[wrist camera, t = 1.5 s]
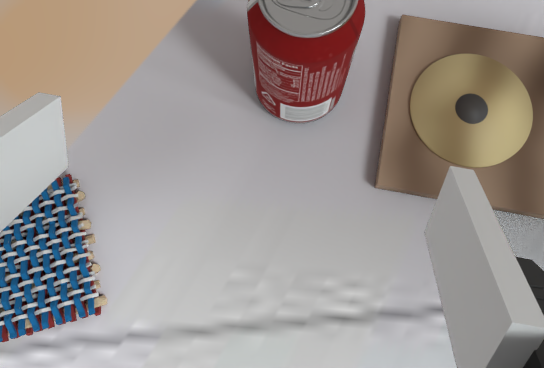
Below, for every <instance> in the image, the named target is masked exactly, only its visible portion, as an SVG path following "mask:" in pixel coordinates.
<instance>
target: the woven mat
mask: <svg viewBox="0 0 544 368" xmlns="http://www.w3.org/2000/svg"><path fill="white" fill-rule="evenodd" d="M65 176H66V177H65V178H63V183H62V182H61V178H60V177H59V178H56V179H55V181H53V182H52V183H51V184H50V185H49V186H48V187H47V188H46V189H45V190H44V191H43V192H42V193H41V194H40V195H39V196H38V197H37V198H36V199H35V200H33V201H32V202H31V203H30V204H29V205H28V206H27V207H26V208H25V209H24V210H23V211H22V212H21V213H20V214H19V215H18V216H17V217H16V218H15V219H14V220H13V221H12V222H11V223H10V224H9V225H7V226H6V227H5V228H4V229H3V230H2V231H1V232H0V318H1V319H0V342H6V341H9V339H8V335H9V334H10V338H11V339H13V338H14V339H15V338H18V337H20V336H22V335H25V334H26V335H28V336H29V335H32V334H33V331H34V332H39V331H42V330H43V329H45V328H48V329H49V328H52V327H55V325H54V321H56V324H57V325H61V324H65V323H66V322H69V321H70V322H73V321H77V319H76V314H79V317H80V318H85V317H88V312H87V311H89V315H92V314H95V315H96V316H97V315H100V314H101V306H102V305H106V304H107V298H106V297H105V295H103V296H100V297H99V293H98V292H96V289H97V288H99V287H100V283H99V280H97V281H93V280H95V276H92V275H95V274H96V273H98V272H99V271H100V266H99V265H97V264H93V265H92V264H91V262H89V260H92V259H93V258H94V256H93V251H87V248H86V247H88V246H89V245H88V244H92V243H95V237H94V234H93V235H89V236H86V237H85V235H86V232H85V229H90V227H91V222H90V220H83V219H82V218H83V216H82V215H85V212H84V208H82V209H78V203H77V202H80V201H82V200H83V199H84V198H85V195H84V192H81V191H78V192H77V193H75V189H77V187H80V186H79V181H78V179H77V180H73V181H72V177H71V175H70V174H68V175H65ZM64 193H66V196H64ZM43 200H44V202H43ZM67 210H69V212H67ZM57 212H58V215H57V214H56V213H57ZM35 218H36V220H35ZM70 221H71V225H70V223H69V222H70ZM59 226H60V227H61V229H59ZM38 234H39V235H38ZM74 237H75V240H73V238H74ZM50 240H51V241H50ZM62 242H63V243H62ZM51 244H53V245H52V246H51ZM65 253H67V256H66V257H65V255H64V254H65ZM54 258H55V261H54ZM32 266H33V268H32ZM67 267H69V268H68V269H67ZM68 272H70V273H68ZM45 273H46V275H45ZM81 278H84V279H81ZM46 279H47V280H46ZM22 280H23V282H22ZM83 282H84V284H82V283H83ZM24 285H25V286H24ZM59 285H61V286H60V287H59ZM60 290H61V291H60ZM31 293H33V294H32V295H31ZM84 293H86V296H84ZM15 298H16V300H15ZM86 299H88V301H86V302H85V300H86ZM61 300H62V301H63V303H62V301H61ZM63 306H64V308H63ZM40 313H42V315H41V314H40ZM18 320H19V321H18ZM65 321H66V322H65ZM26 328H27V329H26ZM25 329H26V330H25Z"/></svg>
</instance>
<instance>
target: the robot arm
mask: <svg viewBox="0 0 544 368" xmlns="http://www.w3.org/2000/svg"><path fill="white" fill-rule="evenodd" d="M68 167H69V165H68V156H67V148H66V139H65V131H64V122H63V113H62V105H61V96H56V95H50V94H45V93H37V94H35V95H34V96H32V97H31V98H29V99H27V100H26V101H24V102H23V103H21V104H19V105H18V106H16V107H15V108H13V109H11V110H10V111H8V112H7V113H5V114H3V115H2V116H0V232H1V231H2V230H3V229H4V228H5V227H6V226H7V225H9V224H10V223H11V222H12V221H13V220H14V219H15V218H16V217H17V216H18V215H19V214H20V213H21V212H22V211H23V210H24V209H25V208H26V207H27V206H28V205H29V204H30V203H31V202H32V201H33V200H35V199H36V198H37V197H38V196H39V195H40V194H41V193H42V192H43V191H44V190H45V189H46V188H47V187H48V186H49V185H50V184H51V183H52V182H53V181H54V180H55V179H56V178H57V177H58V176H59V175H60V174H62V173H63V172H64V171H65V170H66V169H67V168H68ZM424 233H425V237H426V241H427V245H428V250H429V254H430V258H431V262H432V266H433V270H434V274H435V279H436V283H437V287H438V291H439V295H440V299H441V304H442V308H443V312H444V316H445V320H446V324H447V328H448V333H449V337H450V341H451V345H452V349H453V353H454V358H455V362H456V366H457V368H544V271H543V270H542V269H541V268H540V267H539V266H538V265H537V264H535V263H534V262H533V261H532V260H529V259H524V258H519V257H515V255H514V253H513V251H512V249H511V247H510V245H509V242H508V240H507V238H506V236H505V234H504V232H503V230H502V228H501V226H500V224H499V222H498V220H497V217H496V215H495V213H494V211H493V209H492V207H491V205H490V203H489V201H488V199H487V197H486V195H485V192H484V190H483V188H482V186H481V184H480V182H479V180H478V178H477V176H476V174H475V172H474V170H471V169H465V168H460V167H454V166H450V167H449V170H448V173H447V175H446V178H445V180H444V183H443V186H442V188H441V191H440V193H439V196H438V198H437V201H436V204H435V206H434V209H433V211H432V214H431V217H430V219H429V222H428V224H427V227H426V230H425V232H424Z"/></svg>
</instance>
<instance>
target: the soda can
mask: <svg viewBox="0 0 544 368" xmlns="http://www.w3.org/2000/svg"><path fill="white" fill-rule="evenodd" d="M247 17H248V26H249V35H250V44H251V53H252V62H253V71H254V80H255V88H256V93H257V96H258V98H259V100H260V102H261V104H262V105H263V106H264V108H265V109H266V110H267V111H268V112H269V113H271V114H272V115H273V116H275V117H277V118H279V119H281V120H283V121H286V122H291V123H308V122H312V121H315V120H318V119H320V118H322V117H324V116H325V115H326V114H328V113H329V112H330V111H331V110H332V109H333V108H334V107H335V106H336V104H337V102H338V101H339V99H340V96H341V94H342V90H343V87H344V84H345V81H346V78H347V75H348V71H349V68H350V65H351V62H352V59H353V56H354V52H355V49H356V46H357V43H358V40H359V37H360V33H361V30H362V27H363V23H364V18H365V4H364V0H248V6H247Z"/></svg>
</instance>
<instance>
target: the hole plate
mask: <svg viewBox="0 0 544 368" xmlns="http://www.w3.org/2000/svg"><path fill="white" fill-rule="evenodd" d="M450 166H454V167H460V168H465V169H471V170H474V172H475V174H476V176H477V178H478V180H479V182H480V184H481V186H482V188H483V190H484V192H485V195H486V197H487V199H488V201H489V203H490V205H491V207H492V209H493V210H499V211H504V212H510V213H515V214H521V215H526V216H532V217H537V218H542V219H544V38H543V37H537V36H531V35H525V34H519V33H512V32H506V31H500V30H494V29H488V28H481V27H475V26H469V25H463V24H457V23H450V22H444V21H438V20H432V19H426V18H420V17H413V16H407V15H402V17H401V19H400V21H399V26H398V33H397V40H396V47H395V53H394V60H393V67H392V74H391V81H390V87H389V94H388V101H387V108H386V115H385V122H384V128H383V135H382V142H381V149H380V156H379V162H378V169H377V176H376V183H375V188H379V189H384V190H390V191H395V192H401V193H406V194H411V195H417V196H422V197H428V198H433V199H437V198H438V196H439V193H440V191H441V188H442V186H443V183H444V180H445V178H446V175H447V173H448V170H449V167H450Z"/></svg>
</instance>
